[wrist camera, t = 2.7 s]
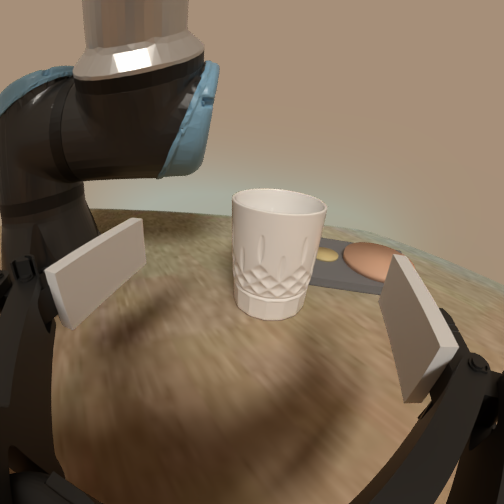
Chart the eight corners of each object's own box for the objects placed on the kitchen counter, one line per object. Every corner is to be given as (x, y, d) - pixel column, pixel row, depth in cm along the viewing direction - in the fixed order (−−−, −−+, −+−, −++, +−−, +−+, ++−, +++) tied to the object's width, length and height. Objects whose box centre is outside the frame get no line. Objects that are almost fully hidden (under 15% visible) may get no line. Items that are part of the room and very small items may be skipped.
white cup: (253, 336, 22) (264, 219, 18) (215, 288, 28) (216, 191, 24) (324, 310, 26) (346, 210, 21) (279, 272, 32) (289, 186, 27)
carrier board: (301, 283, 30) (304, 268, 29) (305, 241, 40) (307, 230, 40) (422, 300, 27) (427, 287, 27) (398, 256, 38) (401, 246, 37)
